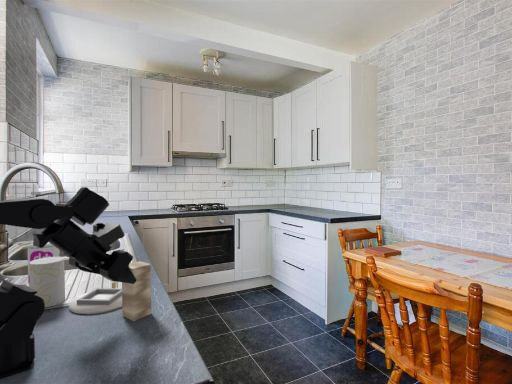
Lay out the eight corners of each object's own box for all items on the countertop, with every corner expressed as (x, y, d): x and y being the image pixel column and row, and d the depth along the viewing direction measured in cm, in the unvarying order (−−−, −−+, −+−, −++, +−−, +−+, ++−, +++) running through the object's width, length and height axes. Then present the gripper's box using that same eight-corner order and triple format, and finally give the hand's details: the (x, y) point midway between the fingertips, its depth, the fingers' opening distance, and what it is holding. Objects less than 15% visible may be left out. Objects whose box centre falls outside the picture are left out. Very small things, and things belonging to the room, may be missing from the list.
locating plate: (114, 314, 75) (114, 301, 75) (54, 313, 76) (54, 300, 76) (142, 291, 91) (141, 280, 91) (92, 290, 92) (92, 279, 92)
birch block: (133, 321, 71) (133, 268, 71) (122, 316, 74) (121, 265, 74) (151, 313, 76) (150, 264, 75) (140, 309, 78) (139, 261, 78)
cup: (24, 309, 78) (23, 265, 78) (38, 298, 86) (37, 257, 86) (59, 305, 81) (57, 263, 80) (69, 295, 88) (68, 255, 88)
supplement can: (55, 292, 91) (53, 244, 90) (23, 295, 88) (22, 246, 88) (64, 283, 99) (63, 239, 98) (35, 286, 96) (34, 241, 96)
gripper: (123, 215, 62) (167, 255, 71) (81, 210, 72) (124, 246, 82) (85, 260, 55) (138, 298, 65) (45, 248, 66) (96, 282, 75)
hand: (124, 278), depth 72 cm, fingers open, 9 cm apart
